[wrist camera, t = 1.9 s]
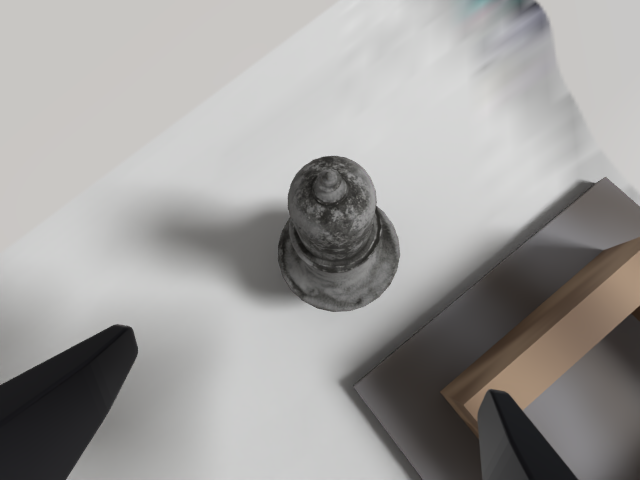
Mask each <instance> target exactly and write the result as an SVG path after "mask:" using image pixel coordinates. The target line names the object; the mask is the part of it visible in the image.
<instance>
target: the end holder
mask: <svg viewBox="0 0 640 480" xmlns="http://www.w3.org/2000/svg"><path fill="white" fill-rule="evenodd" d="M353 386H354V388H355V390H356V391H357V392H358V394H359V395H360V396H361V398H362V399H363V400H364V402H365V403H366V404H367V406H368V407H369V408H370V410H371V411H372V413H373V414H374V415H375V417H376V418H377V419H378V421H379V422H380V423H381V425H382V426H383V427H384V429H385V430H386V431H387V433H388V434H389V435H390V437H391V438H392V439H393V441H394V442H395V443H396V445H397V446H398V447H399V449H400V450H401V451H402V453H403V454H404V455H405V457H406V458H407V459H408V461H409V462H410V463H411V465H412V466H413V467H414V469H415V470H416V471H417V473H418V474H419V475H420V477H421V478H422V479H423V480H483V479H482V468H481V456H480V444H479V433H478V420H477V416H478V410H479V408H480V405H481V403H482V401H483V398H484V396H485V394H486V392H487V391H488V390H489V389H495V390H500V391H505V392H507V393H508V394H510V396H511V397H512V398H513V399H514V400H515V402H516V403H517V404H518V405H519V407H520V408H521V409H522V410H523V412H524V413H525V414H526V415H527V417H528V418H529V419H530V420H531V421H532V423H533V424H534V425H535V426H536V428H537V429H538V430H539V431H540V433H541V434H542V435H543V436H544V437H545V439H546V440H547V441H548V442H549V444H550V445H551V446H552V447H553V449H554V450H555V451H556V452H557V454H558V455H559V456H560V457H561V458H562V460H563V461H564V462H565V463H566V465H567V466H568V467H569V468H570V470H571V471H572V472H573V473H574V475H575V476H576V477H577V478H578V479H579V480H640V206H638V205H637V204H636V203H635V202H634V201H633V200H632V199H630V198H629V197H628V196H627V195H626V194H625V193H624V192H622V191H621V190H620V189H619V188H618V187H617V186H616V185H614V184H613V183H612V182H611V181H610V180H609V179H608V178H606V177H604V178H603V179H601V180H600V181H598V182H597V183H595V184H594V185H593V186H592V187H591V188H589V189H588V190H587V191H586V192H585V193H583V194H582V195H581V196H580V197H579V198H577V199H576V200H575V201H574V202H573V203H571V204H570V205H569V206H568V207H567V208H565V209H564V210H563V211H562V212H561V213H559V214H558V215H557V216H556V217H555V218H553V219H552V220H551V221H550V222H549V223H548V224H546V225H545V226H544V227H543V228H542V229H540V230H539V231H538V232H537V233H536V234H534V235H533V236H532V237H531V238H530V239H528V240H527V241H526V242H525V243H524V244H522V245H521V246H520V247H519V248H518V249H516V250H515V251H514V252H513V253H512V254H510V255H509V256H508V257H507V258H506V259H504V260H503V261H502V262H501V263H500V264H498V265H497V266H496V267H495V268H494V269H492V270H491V271H490V272H489V273H488V274H486V275H485V276H484V277H483V278H482V279H480V280H479V281H478V282H477V283H476V284H474V285H473V286H472V287H471V288H470V289H468V290H467V291H466V292H465V293H464V294H462V295H461V296H460V297H459V298H458V299H456V300H455V301H454V302H453V303H452V304H450V305H449V306H448V307H447V308H446V309H444V310H443V311H442V312H441V313H440V314H438V315H437V316H436V317H435V318H434V319H432V320H431V321H430V322H429V323H428V324H426V325H425V326H424V327H423V328H422V329H420V330H419V331H418V332H417V333H416V334H414V335H413V336H412V337H411V338H410V339H408V340H407V341H406V342H405V343H404V344H403V345H401V346H400V347H399V348H398V349H397V350H395V351H394V352H393V353H392V354H391V355H389V356H388V357H387V358H386V359H385V360H383V361H382V362H381V363H380V364H379V365H377V366H376V367H375V368H374V369H373V370H371V371H370V372H369V373H368V374H367V375H365V376H364V377H363V378H362V379H361V380H359V381H358V382H357V383H356V384H355V385H353Z"/></svg>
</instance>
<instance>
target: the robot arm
mask: <svg viewBox="0 0 640 480" xmlns="http://www.w3.org/2000/svg"><path fill="white" fill-rule="evenodd" d="M137 354H138V346H137V343H136V339H135V335H134V331H133V329H132V328H131V327H129V326H125V325H118V324H117V325H113V326H111V327H109V328H107V329H105V330H103V331H101V332H100V333H98V334H96V335H94V336H92V337H90V338H88V339H86V340H84V341H83V342H81V343H79V344H77V345H75V346H73V347H71V348H69V349H67V350H66V351H64V352H62V353H60V354H58V355H56V356H54V357H52V358H51V359H49V360H47V361H45V362H43V363H41V364H39V365H37V366H35V367H34V368H32V369H30V370H28V371H26V372H24V373H22V374H20V375H18V376H17V377H15V378H13V379H11V380H9V381H7V382H5V383H3V384H1V385H0V480H66V479H67V477H68V475H69V474H70V472H71V471H72V469H73V468H74V466H75V464H76V463H77V461H78V460H79V458H80V457H81V455H82V453H83V452H84V450H85V449H86V447H87V445H88V444H89V442H90V441H91V439H92V438H93V436H94V434H95V433H96V431H97V430H98V428H99V427H100V425H101V423H102V422H103V420H104V419H105V417H106V415H107V414H108V412H109V410H110V408H111V406H112V405H113V403H114V401H115V399H116V397H117V395H118V393H119V391H120V389H121V387H122V385H123V383H124V381H125V379H126V377H127V375H128V373H129V371H130V369H131V367H132V365H133V363H134V361H135V359H136V357H137ZM477 420H478V433H479V444H480V456H481V468H482V479H483V480H579V479H578V478H577V477H576V476H575V475H574V473H573V472H572V471H571V470H570V468H569V467H568V466H567V465H566V463H565V462H564V461H563V460H562V458H561V457H560V456H559V455H558V454H557V452H556V451H555V450H554V449H553V447H552V446H551V445H550V444H549V442H548V441H547V440H546V439H545V437H544V436H543V435H542V434H541V433H540V431H539V430H538V429H537V428H536V426H535V425H534V424H533V423H532V421H531V420H530V419H529V418H528V417H527V415H526V414H525V413H524V412H523V410H522V409H521V408H520V407H519V405H518V404H517V403H516V402H515V400H514V399H513V398H512V397H511V396H510V394H508V393H507V392H505V391H500V390H495V389H489V390H488V391H487V392H486V394H485V396H484V398H483V401H482V403H481V405H480V408H479V410H478V416H477Z"/></svg>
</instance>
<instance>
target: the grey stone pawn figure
mask: <svg viewBox="0 0 640 480" xmlns="http://www.w3.org/2000/svg"><path fill="white" fill-rule="evenodd" d="M376 203H377V201H376V191H375V188H374V185H373V183H372V180H371V178H370V176H369V175H368V174H367V172H366V171H365V169H364V168H362V167H361V166H360V165H359V164H357V163H356V162H354V161H352V160H350V159H348V158H345V157H339V156H326V157H321V158H318V159H315V160H313V161H311V162H310V163H308V164H306V165H305V166H304V167H303V168H302V169H301V170H300V171H299V172H298V173H297V174H296V176H295V177H294V179H293V181H292V183H291V186H290V189H289V193H288V210H289V214H290V218H289V220H288V221H287V223H286V225H285V227H284V229H283V230H282V233H281V237H280V241H279V245H278V261H279V265H280V268H281V272H282V275H283V277H284V279H285V281H286V282H287V284H288V285H289V287H290V289H291V290H292V291H293V292H294V293H295V294H296V295H297V296H298V297H300V298H301V299H302V300H303V301H305V302H306V303H308V304H310V305H312V306H314V307H316V308H319V309H323V310H328V311H332V312H339V311H351V310H354V309H357V308H361V307H364V306H366V305H368V304H369V303H371V302H372V301H374V300H375V299H377V298H378V297H380V295H381V294H382V293H383V292H384V291H385V290H386V289H387V287H388V286H389V285H390V284H391V282H392V280H393V277H394V275H395V273H396V271H397V268H398V262H399V257H400V250H399V240H398V237H397V234H396V231H395V229H394V226H393V224H392V223H391V221H390V220H389V219H388V217H387V216H386V214H385V213H384V212H383V211H382V210H381V209H379V208H378V207H377V206H376Z"/></svg>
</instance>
